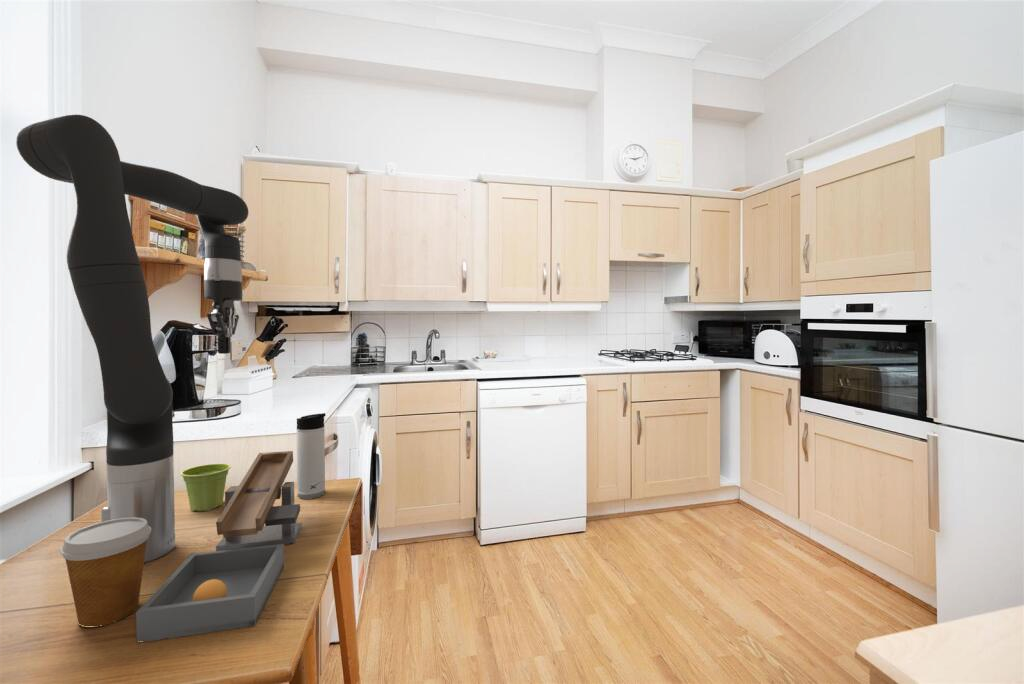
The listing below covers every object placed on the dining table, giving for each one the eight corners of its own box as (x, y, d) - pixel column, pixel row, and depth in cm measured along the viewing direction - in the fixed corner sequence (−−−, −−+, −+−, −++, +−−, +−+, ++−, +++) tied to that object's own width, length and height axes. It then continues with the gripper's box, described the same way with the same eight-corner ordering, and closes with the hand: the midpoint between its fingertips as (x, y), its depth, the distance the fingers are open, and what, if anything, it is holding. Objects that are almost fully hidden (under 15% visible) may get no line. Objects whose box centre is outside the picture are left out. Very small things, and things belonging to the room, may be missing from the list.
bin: (136, 643, 57) (136, 612, 57) (191, 578, 72) (191, 553, 72) (254, 625, 60) (254, 596, 60) (283, 567, 75) (283, 543, 75)
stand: (215, 551, 81) (215, 496, 80) (230, 534, 87) (229, 483, 87) (293, 543, 84) (293, 489, 84) (301, 527, 91) (301, 478, 90)
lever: (219, 548, 74) (216, 522, 73) (261, 473, 97) (259, 452, 95) (293, 540, 77) (291, 515, 76) (317, 469, 99) (316, 449, 98)
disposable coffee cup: (150, 586, 70) (148, 510, 69) (155, 615, 63) (153, 530, 62) (64, 612, 63) (62, 529, 63) (58, 647, 56) (56, 553, 56)
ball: (186, 592, 60) (199, 575, 64) (187, 620, 60) (200, 602, 64) (220, 588, 61) (230, 571, 65) (221, 616, 61) (231, 598, 65)
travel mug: (319, 499, 106) (318, 416, 106) (292, 499, 106) (291, 416, 106) (330, 490, 112) (330, 411, 112) (304, 490, 112) (304, 411, 112)
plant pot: (179, 505, 102) (179, 468, 102) (227, 496, 108) (227, 460, 108) (182, 518, 95) (182, 478, 95) (234, 507, 101) (233, 469, 101)
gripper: (216, 282, 110) (217, 352, 110) (192, 275, 97) (193, 355, 97) (250, 283, 112) (251, 352, 112) (231, 277, 99) (232, 354, 99)
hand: (224, 353), depth 105 cm, fingers closed
